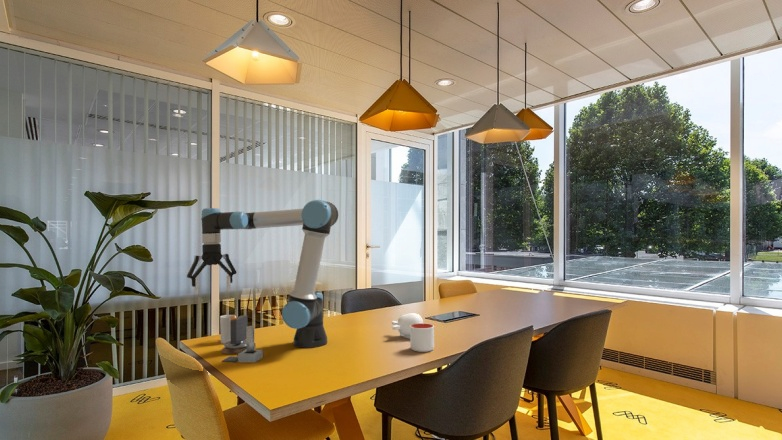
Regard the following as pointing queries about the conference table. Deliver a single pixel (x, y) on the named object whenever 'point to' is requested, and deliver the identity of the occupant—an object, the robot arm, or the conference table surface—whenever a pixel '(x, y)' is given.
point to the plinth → (234, 350)
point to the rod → (250, 339)
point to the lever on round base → (237, 332)
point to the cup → (422, 337)
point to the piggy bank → (406, 323)
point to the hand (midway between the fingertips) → (212, 292)
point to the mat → (230, 359)
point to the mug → (225, 328)
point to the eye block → (250, 356)
